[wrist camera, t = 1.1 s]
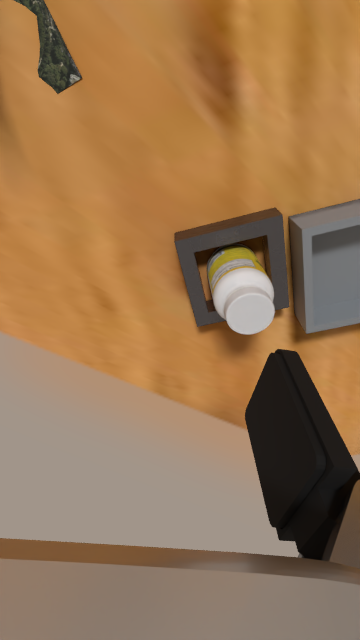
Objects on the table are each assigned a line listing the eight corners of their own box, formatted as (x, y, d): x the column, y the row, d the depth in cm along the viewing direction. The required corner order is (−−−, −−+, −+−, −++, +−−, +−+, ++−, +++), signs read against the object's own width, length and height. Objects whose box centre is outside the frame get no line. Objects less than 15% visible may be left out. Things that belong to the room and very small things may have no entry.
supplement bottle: (257, 285, 35) (281, 338, 27) (208, 291, 36) (218, 345, 28) (257, 238, 32) (285, 282, 24) (204, 244, 33) (214, 290, 25)
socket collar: (275, 207, 31) (282, 214, 29) (282, 295, 36) (289, 307, 34) (174, 232, 32) (174, 241, 30) (196, 314, 37) (197, 326, 35)
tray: (414, 185, 30) (444, 195, 26) (399, 291, 36) (421, 310, 33) (288, 216, 31) (302, 229, 28) (294, 313, 37) (306, 333, 34)
